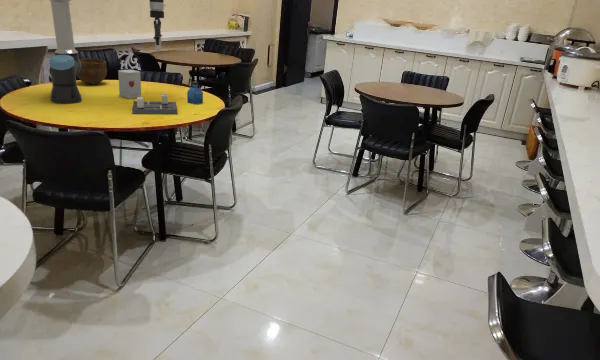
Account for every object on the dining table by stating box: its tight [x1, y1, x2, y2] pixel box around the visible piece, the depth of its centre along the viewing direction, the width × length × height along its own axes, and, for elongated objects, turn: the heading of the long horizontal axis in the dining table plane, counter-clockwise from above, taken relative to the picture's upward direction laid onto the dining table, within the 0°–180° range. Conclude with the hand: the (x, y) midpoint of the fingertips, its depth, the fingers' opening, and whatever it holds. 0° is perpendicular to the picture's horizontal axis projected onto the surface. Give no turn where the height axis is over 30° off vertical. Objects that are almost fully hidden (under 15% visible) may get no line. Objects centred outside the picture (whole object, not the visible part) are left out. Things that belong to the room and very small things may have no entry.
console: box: [131, 100, 178, 115], centre depth 243 cm, size 22×19×2 cm
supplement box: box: [117, 69, 142, 100], centre depth 265 cm, size 9×9×15 cm
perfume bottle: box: [186, 81, 204, 105], centre depth 263 cm, size 6×6×12 cm
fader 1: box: [136, 96, 145, 108], centre depth 235 cm, size 3×5×4 cm, turn 16°
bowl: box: [76, 58, 108, 85], centre depth 291 cm, size 19×19×15 cm
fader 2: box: [161, 93, 169, 104], centre depth 247 cm, size 3×5×5 cm, turn 16°
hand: (158, 49), depth 261 cm, fingers open, 13 cm apart
